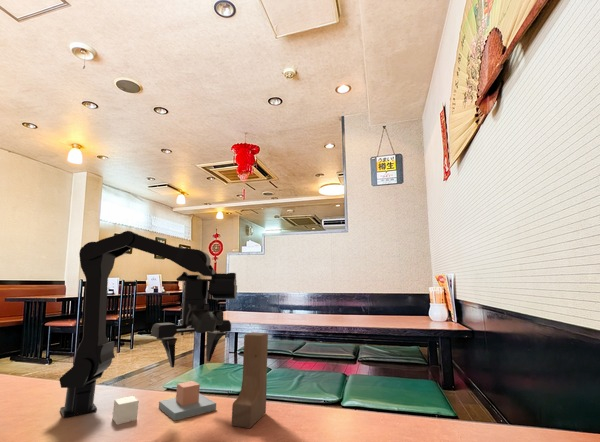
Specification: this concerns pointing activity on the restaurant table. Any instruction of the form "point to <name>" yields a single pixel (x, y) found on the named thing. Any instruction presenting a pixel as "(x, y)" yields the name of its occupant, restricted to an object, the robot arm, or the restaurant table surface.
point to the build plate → (186, 408)
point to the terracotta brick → (187, 393)
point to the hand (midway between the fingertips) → (191, 364)
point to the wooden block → (252, 382)
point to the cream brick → (125, 409)
